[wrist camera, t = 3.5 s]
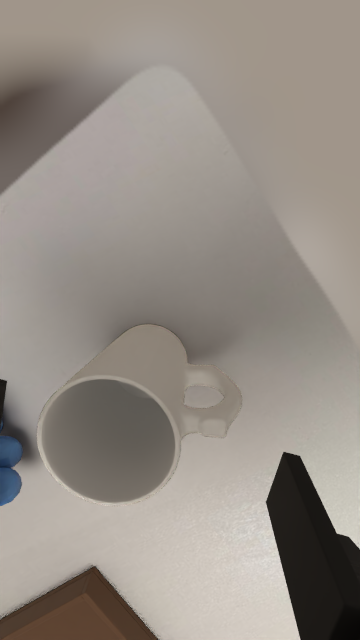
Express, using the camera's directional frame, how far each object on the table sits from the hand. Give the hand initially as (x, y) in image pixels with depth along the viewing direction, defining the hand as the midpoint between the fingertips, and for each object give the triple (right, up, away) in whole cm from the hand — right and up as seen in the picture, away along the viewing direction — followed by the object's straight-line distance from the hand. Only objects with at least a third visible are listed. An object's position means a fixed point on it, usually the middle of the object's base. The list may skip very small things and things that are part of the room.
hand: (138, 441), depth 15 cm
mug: (+1, +2, +12) cm, 12 cm away
